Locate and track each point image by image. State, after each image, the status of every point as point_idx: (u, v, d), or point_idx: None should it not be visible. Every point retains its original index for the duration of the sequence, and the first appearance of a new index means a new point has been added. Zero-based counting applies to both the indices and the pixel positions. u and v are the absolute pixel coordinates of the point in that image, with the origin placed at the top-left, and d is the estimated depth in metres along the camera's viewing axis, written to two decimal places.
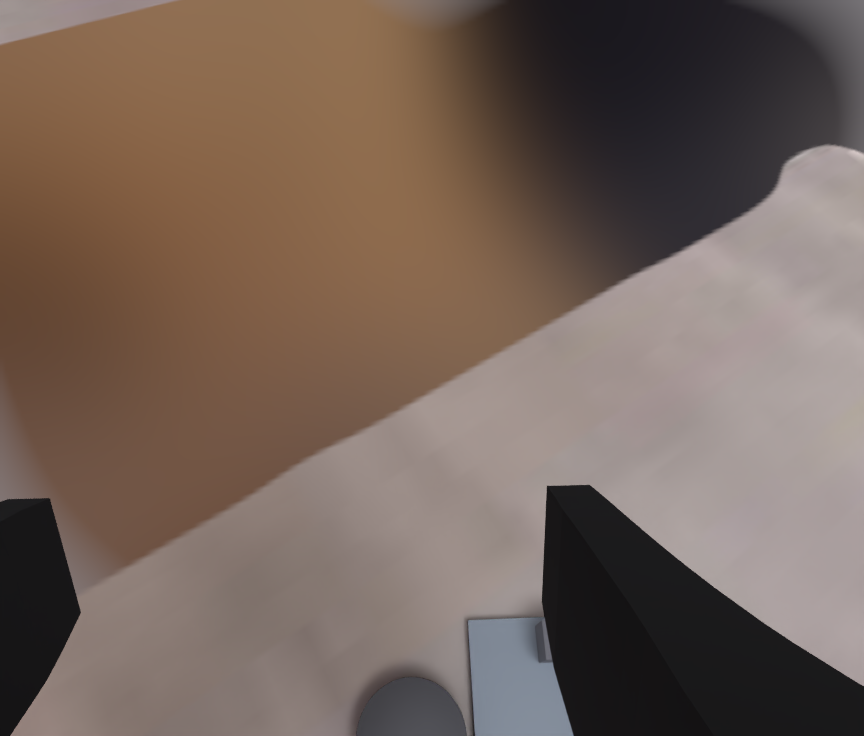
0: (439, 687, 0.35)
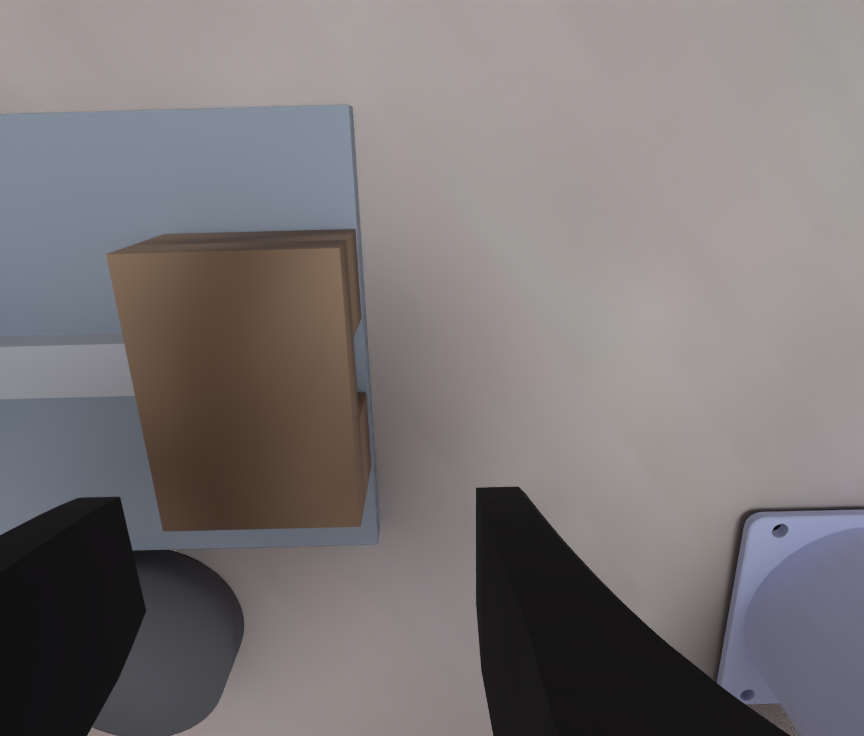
0: None
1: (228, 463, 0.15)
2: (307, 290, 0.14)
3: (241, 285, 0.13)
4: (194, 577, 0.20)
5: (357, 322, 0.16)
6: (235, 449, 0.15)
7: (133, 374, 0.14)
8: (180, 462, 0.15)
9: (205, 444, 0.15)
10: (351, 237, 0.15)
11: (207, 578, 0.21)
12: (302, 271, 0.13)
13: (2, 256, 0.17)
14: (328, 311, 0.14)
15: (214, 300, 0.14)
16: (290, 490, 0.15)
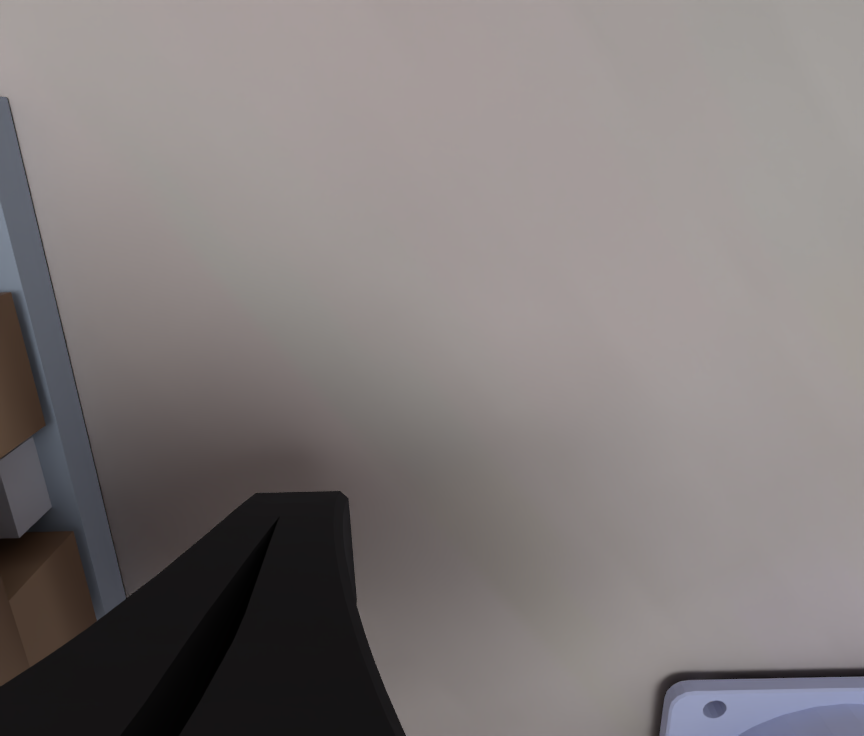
0: None
1: None
2: None
3: None
4: None
5: (9, 442, 0.10)
6: None
7: None
8: None
9: None
10: None
11: None
12: None
13: None
14: None
15: None
16: None
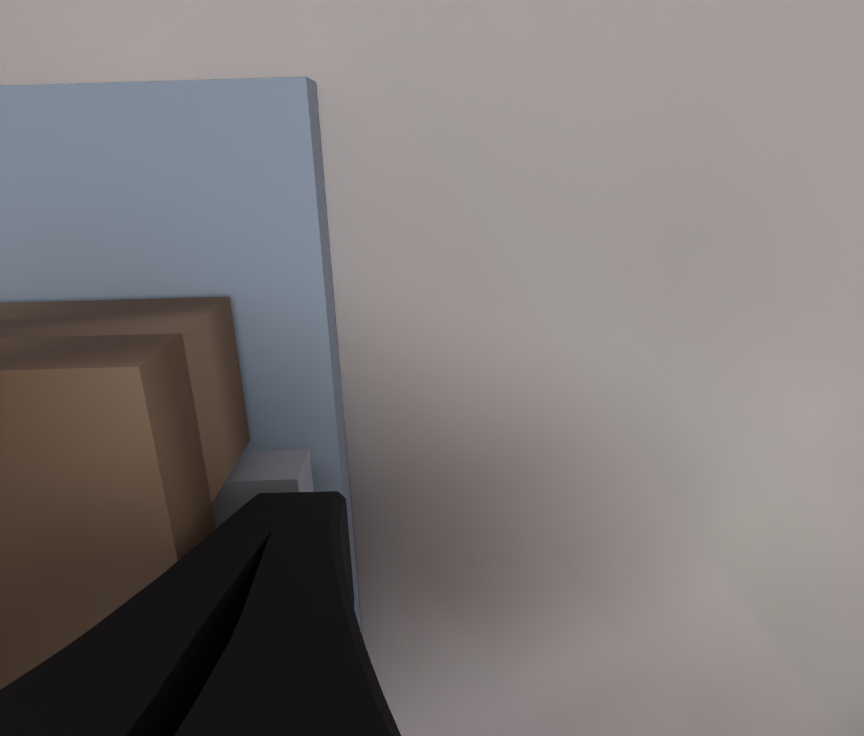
0: None
1: None
2: (83, 447, 0.07)
3: None
4: None
5: (231, 460, 0.09)
6: None
7: None
8: None
9: None
10: (208, 319, 0.08)
11: None
12: (68, 410, 0.07)
13: None
14: (130, 486, 0.07)
15: None
16: None
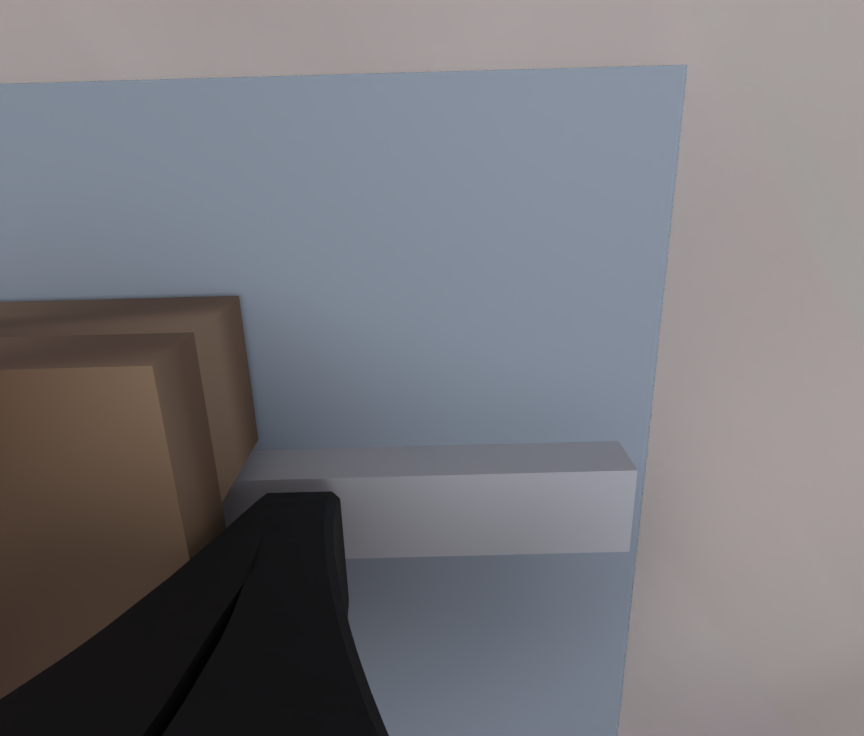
0: None
1: None
2: (96, 445, 0.07)
3: None
4: None
5: (241, 459, 0.09)
6: None
7: None
8: None
9: None
10: (218, 318, 0.08)
11: None
12: (80, 408, 0.07)
13: None
14: (143, 485, 0.07)
15: None
16: None
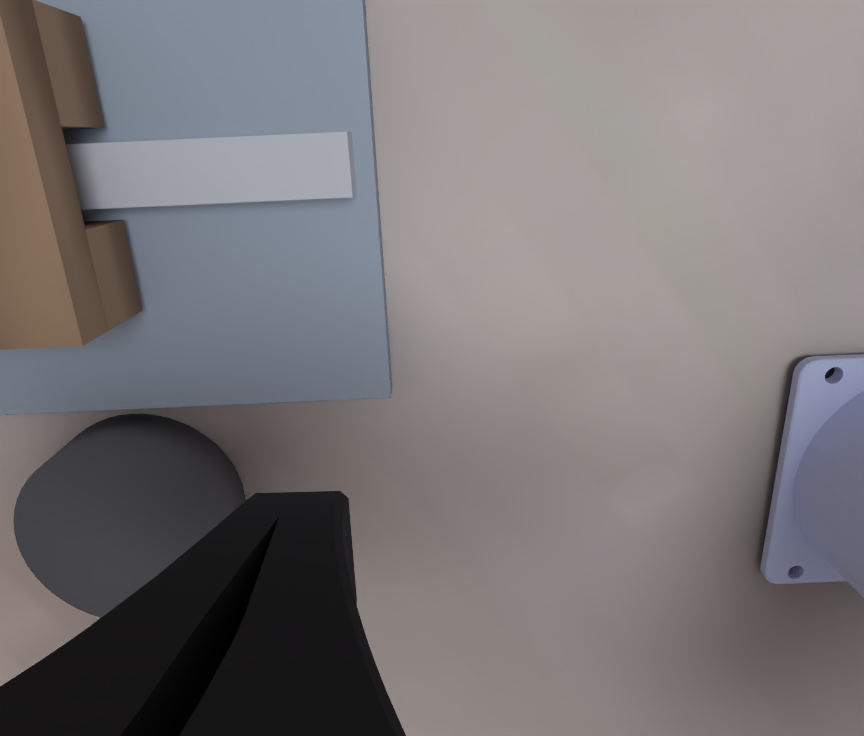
0: (22, 494, 0.17)
1: None
2: None
3: None
4: (189, 441, 0.19)
5: (82, 120, 0.14)
6: None
7: None
8: None
9: None
10: (57, 12, 0.13)
11: (204, 445, 0.19)
12: None
13: None
14: None
15: None
16: None
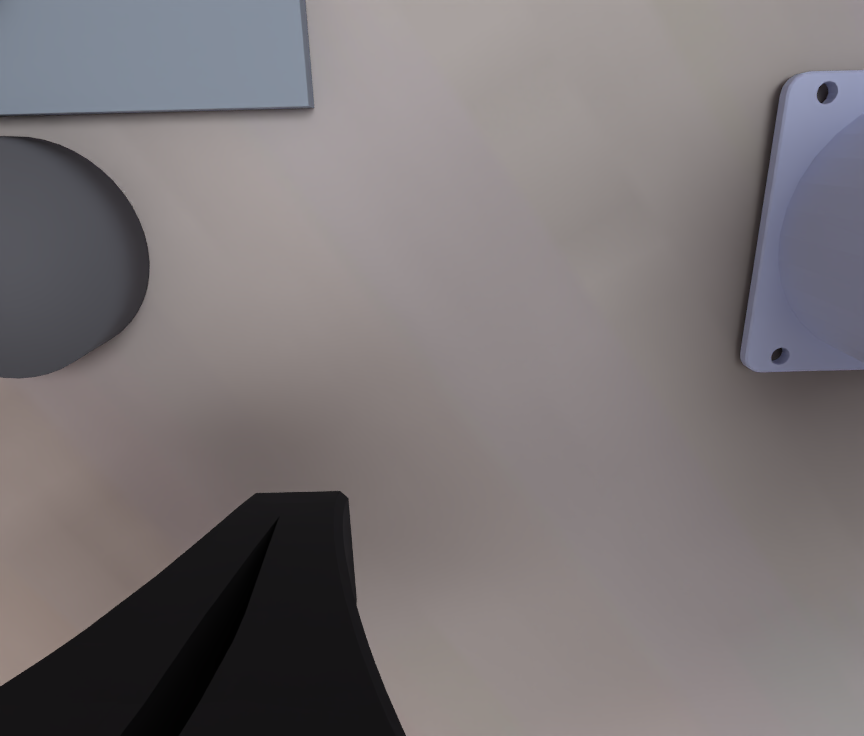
0: None
1: None
2: None
3: None
4: (76, 162, 0.16)
5: None
6: None
7: None
8: None
9: None
10: None
11: (95, 172, 0.16)
12: None
13: None
14: None
15: None
16: None
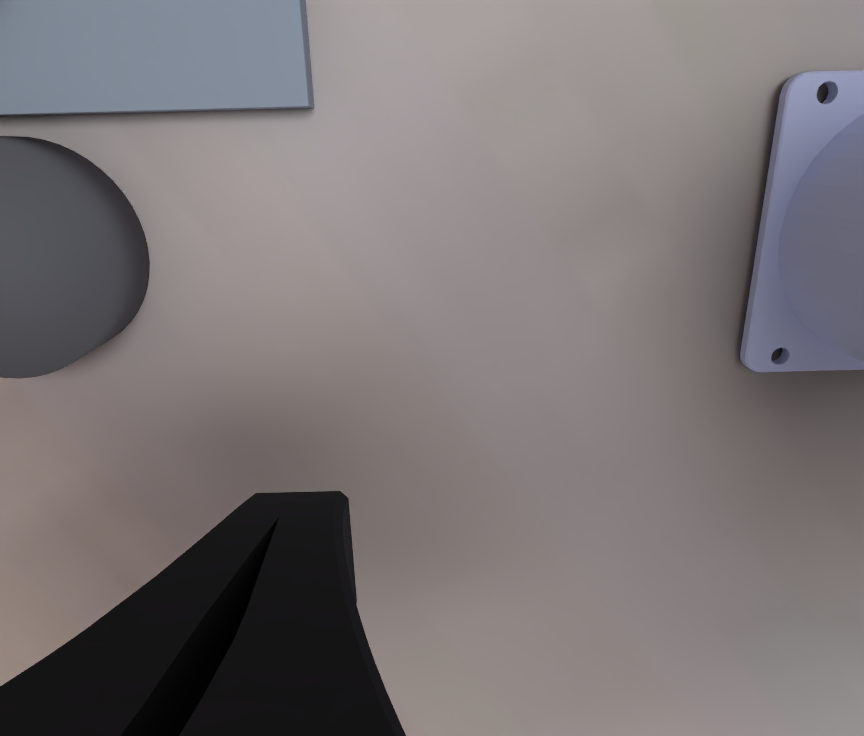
0: None
1: None
2: None
3: None
4: (76, 162, 0.16)
5: None
6: None
7: None
8: None
9: None
10: None
11: (95, 172, 0.16)
12: None
13: None
14: None
15: None
16: None
